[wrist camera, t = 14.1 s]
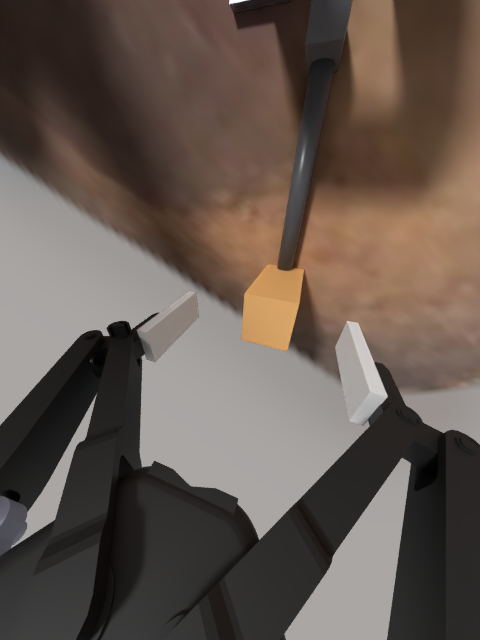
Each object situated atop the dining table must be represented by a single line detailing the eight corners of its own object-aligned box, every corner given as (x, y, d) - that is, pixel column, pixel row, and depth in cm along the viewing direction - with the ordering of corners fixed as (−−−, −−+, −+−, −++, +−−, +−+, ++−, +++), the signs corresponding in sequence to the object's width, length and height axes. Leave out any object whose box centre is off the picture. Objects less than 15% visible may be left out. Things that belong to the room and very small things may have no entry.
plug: (262, 305, 27) (240, 347, 19) (298, 35, 14) (279, -199, 6) (293, 311, 26) (285, 359, 17) (363, 25, 13) (448, -280, 5)
